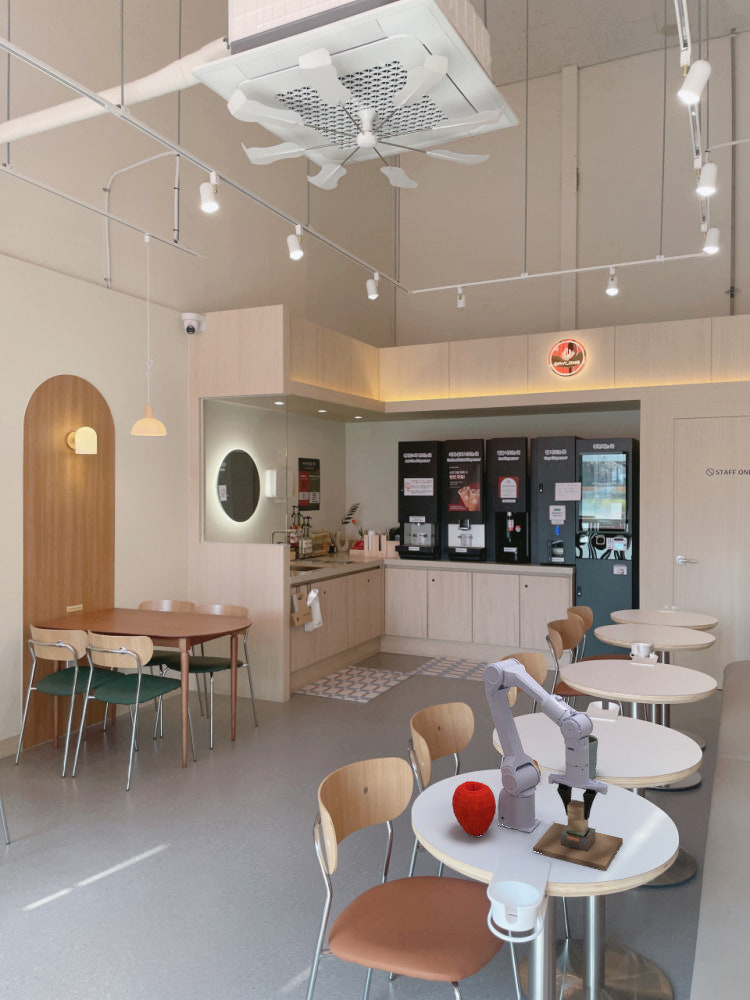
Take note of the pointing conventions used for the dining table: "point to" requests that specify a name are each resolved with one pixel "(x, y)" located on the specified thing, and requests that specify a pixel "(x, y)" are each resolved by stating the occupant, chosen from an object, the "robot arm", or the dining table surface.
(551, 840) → the board
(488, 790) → the apple
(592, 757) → the green cup
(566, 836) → the sleeve
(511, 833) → the dining table surface
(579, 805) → the post
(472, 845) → the dining table surface
